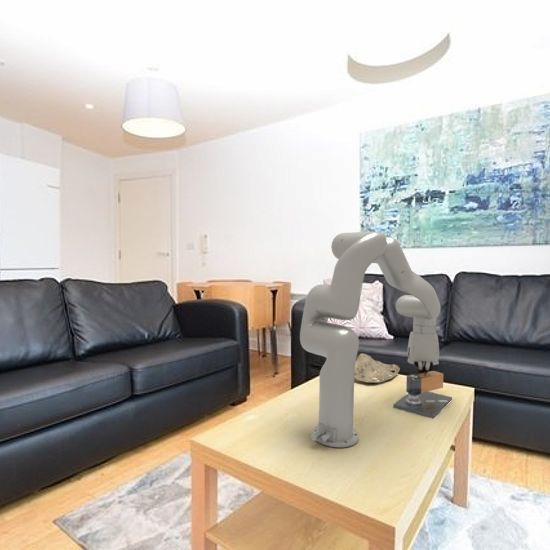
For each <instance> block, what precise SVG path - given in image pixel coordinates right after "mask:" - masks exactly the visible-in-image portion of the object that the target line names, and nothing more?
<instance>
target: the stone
mask: <svg viewBox="0 0 550 550" xmlns="http://www.w3.org/2000/svg"><path fill="white" fill-rule="evenodd" d="M400 369H401V368H400V366H399V365H398V364H396V363H395V364H387V363H383V362H381V361H379V360H375V359H373V358H372V357H371V355H368V354H366V353H360V354H359V355H357V356H356V362H355V371H354V380H358V381H360V382H365V383H373V384H379V383H382V382H386V381H388V380H390V379H393V378H395V377H396V376H398V373H399V372H400ZM392 371H394V372H392Z"/></svg>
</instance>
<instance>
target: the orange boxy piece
mask: <svg viewBox="0 0 550 550" xmlns="http://www.w3.org/2000/svg"><path fill="white" fill-rule="evenodd" d="M405 384H406V386H405V387H406V388H405V389H406V390H405V391H406V393H407V394H408V393H410V394H415V395H418V394H421V393H424V392H431V391H436V390H440V389H443V388H444V373H443V372H440V371H435V370H430V371H428V372H425V373H420V374H418V373H416V374H409V375H406V383H405Z"/></svg>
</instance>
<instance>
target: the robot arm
mask: <svg viewBox="0 0 550 550" xmlns="http://www.w3.org/2000/svg"><path fill="white" fill-rule="evenodd" d="M330 248H331V252H332V255H333V256H334V257H335V258H336V259H337V262H336V263H335V266H334V270H333V272H332V273H333V274H332V278H331V282H330V284H322V283H321V284H317V285H314V286H313V287H312V288H311V289H310V290H309V292H307V294H306V298H305V302H304V308H303V314H302V317H301V318H302V319H301V324H300V331H299V341H300V345H301V347H302V349H304V350H305V351H306V352H308V353H311V354H313V355H317V356H321V357H324V358H326V360H325V361H324V364H323V365H322V366H321V369H320V372H319V380H318V382H319V387H318V388H319V390H318V391H319V394H318V395H319V397H318V399H319V400H318V423H317V426H315V427H314V428H313V430H312V433H311V434H310V436H309V437H310V439H311V441H313V442H315V441H316V442H318V443H319V444H321V445H323V446H326V447H331V448H337V449H338V448H339V449H340V448H349V447H351V446H354V445H356V444H357V443H358V442H359V439H360V438H359V437H360V436H359V433H358V432H357V430H356V429H355V428H354V406H355V405H354V402H355V401H354V400H355V399H354V398H355V377H354V371H355V362H356V361H357V357H358V351H359V346H360V341H359V336H358V334H357V333H356V331H355V330H354V329H352V328H351V327H348V326H346V325H343V324H337V323H333V322H328V319H334V320H339V321H351V320H353V319H355V317H357V315H358V312H359V307H360V302H361V296H362V290H363V284H364V278H365V275H366V271H367V270H368V269H369V267H370V266H371V265H372V264H377V265H378V267H379V269H380V271H381V273H382V275H383V277H384V278H385V279H384V280H385V281H386V283H388V285H390V287H393V288H394V289H397V290H399V291H401V292H404V293H407V294H404V295H402V296H400V297H398V299H397V300H396V302H395V309H396V311H397V313H398V314H399V315H401V316H403V317H407V318H408V317H409V318H413V322H412V325H413V326H412V331H410V333H409V337H408V344H407V363H408V364H411V365H414V366H415V367H417V374H420V373H425V372H429V369H430V368H431V367H432V366H436V365H439V364H440V362H439V359H440V346H439V345H440V344H439V336H438V333H437V331H440V330H441V327H440V326H437V325H436V324H437V318H438V317H439V315H440V314H441V303H440V300H439V298H438V297H439V296H438V294H437V293H436V290H435V289H434V287H433V286H432V285H431V284H430V283H429V282H428V281H427V280H426V279H424V278H423V277H422V276H420V275H419V274H418V273H415V272H414V271H413V270H412V268H411V266H410V264H409V262H408V260H407V258H406V257H407V256H405V253H404V251H403V248H402V246H401V244H400V243H399V241H398V240H397V239H396V238H394V237H391V236H386V235H385V234H384V233H382V232H378V231H358V232H342V233H339V234H337V235H335V237H334V238H333V239H332V241H331V247H330ZM422 362H423V363H422Z"/></svg>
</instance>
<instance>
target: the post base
mask: <svg viewBox="0 0 550 550" xmlns="http://www.w3.org/2000/svg"><path fill="white" fill-rule="evenodd" d="M451 400H452V401H453V397H452V396H448V395H444V394H439V393H435V392H431V391H428V392H424V393H421V394H418V395H415V394H410V393H407V394H405V395H404V396H403V397H401V398H400V399H399V400H397V401H396V402H394V403H393V405H392V408H393V409H397V410H400V411H401V410H402V411H405V412H407V413H411V414H415V415H419V416H422V417H426V418H430V419H435V417H436V416H437V415H438V414H439V413H441V412H442V411H443V410H444V409H445V408H446V407H447V406H448V405H449V404H450V403H451V402H452V401H451ZM450 401H451V402H450ZM449 402H450V403H449ZM448 403H449V404H448ZM447 404H448V405H447ZM446 405H447V406H446ZM445 406H446V407H445ZM444 407H445V408H444ZM443 408H444V409H443ZM442 409H443V410H442ZM441 410H442V411H441Z"/></svg>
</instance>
